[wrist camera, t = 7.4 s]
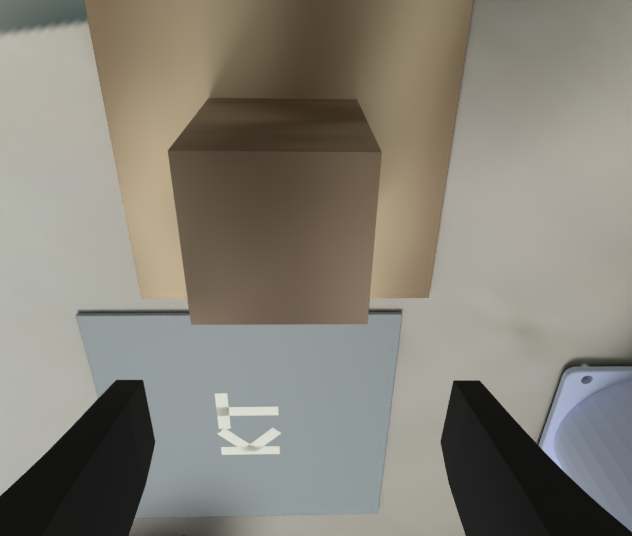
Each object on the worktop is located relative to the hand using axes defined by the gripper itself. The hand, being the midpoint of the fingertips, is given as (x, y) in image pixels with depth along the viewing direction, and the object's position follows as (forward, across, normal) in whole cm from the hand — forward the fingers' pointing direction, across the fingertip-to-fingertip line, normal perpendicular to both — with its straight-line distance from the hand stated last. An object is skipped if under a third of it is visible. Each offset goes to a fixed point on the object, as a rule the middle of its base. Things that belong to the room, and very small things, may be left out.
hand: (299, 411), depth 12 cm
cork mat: (+9, +1, -3) cm, 10 cm away
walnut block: (+9, +1, -3) cm, 9 cm away
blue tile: (+9, +2, +11) cm, 14 cm away
